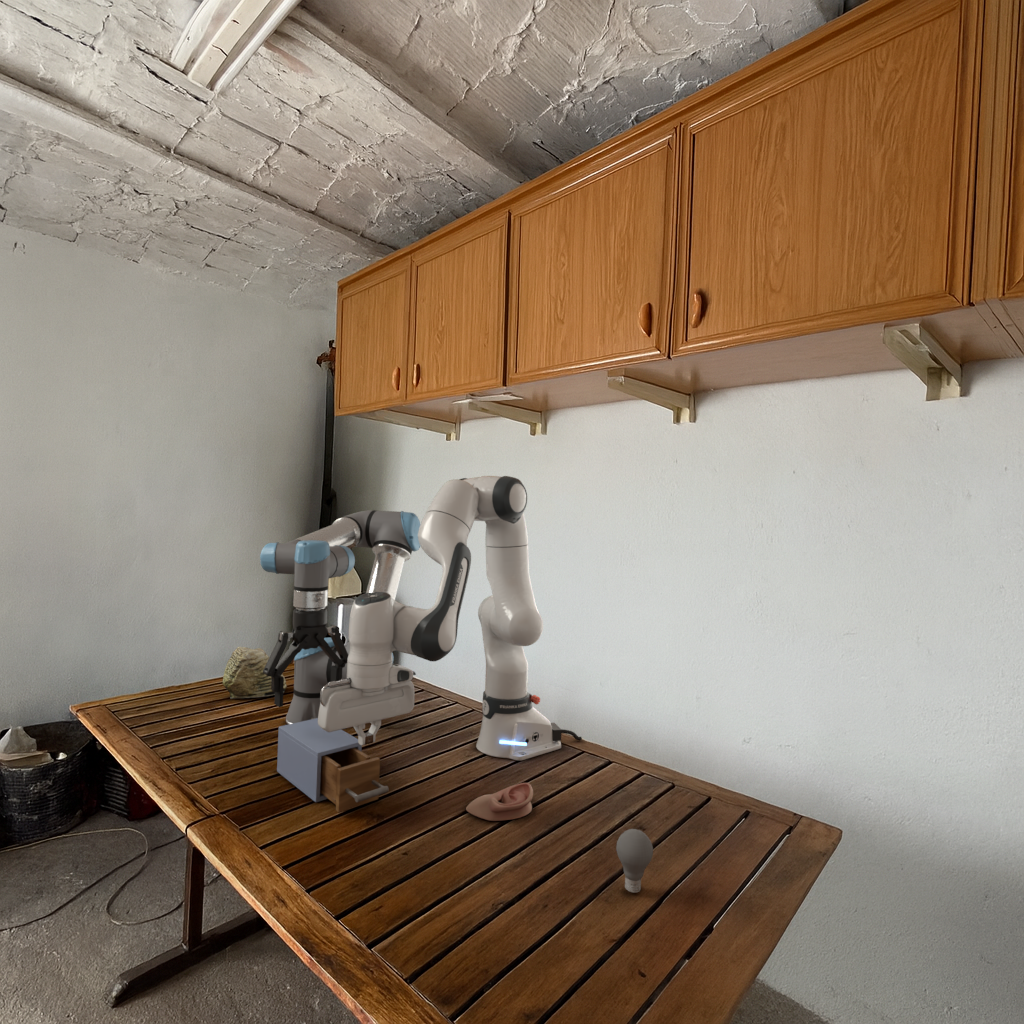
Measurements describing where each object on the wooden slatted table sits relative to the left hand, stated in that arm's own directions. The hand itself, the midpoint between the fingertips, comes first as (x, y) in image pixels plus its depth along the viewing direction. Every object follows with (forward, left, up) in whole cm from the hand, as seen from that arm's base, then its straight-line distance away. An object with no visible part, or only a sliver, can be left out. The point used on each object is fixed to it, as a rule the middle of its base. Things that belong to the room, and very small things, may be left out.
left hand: (307, 699), depth 146 cm
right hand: (+4, +26, -2) cm, 27 cm away
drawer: (+2, +18, -15) cm, 24 cm away
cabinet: (+1, +6, -16) cm, 18 cm away
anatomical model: (-17, +45, -16) cm, 50 cm away
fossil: (-20, -58, -16) cm, 63 cm away
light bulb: (-11, +79, -16) cm, 81 cm away
